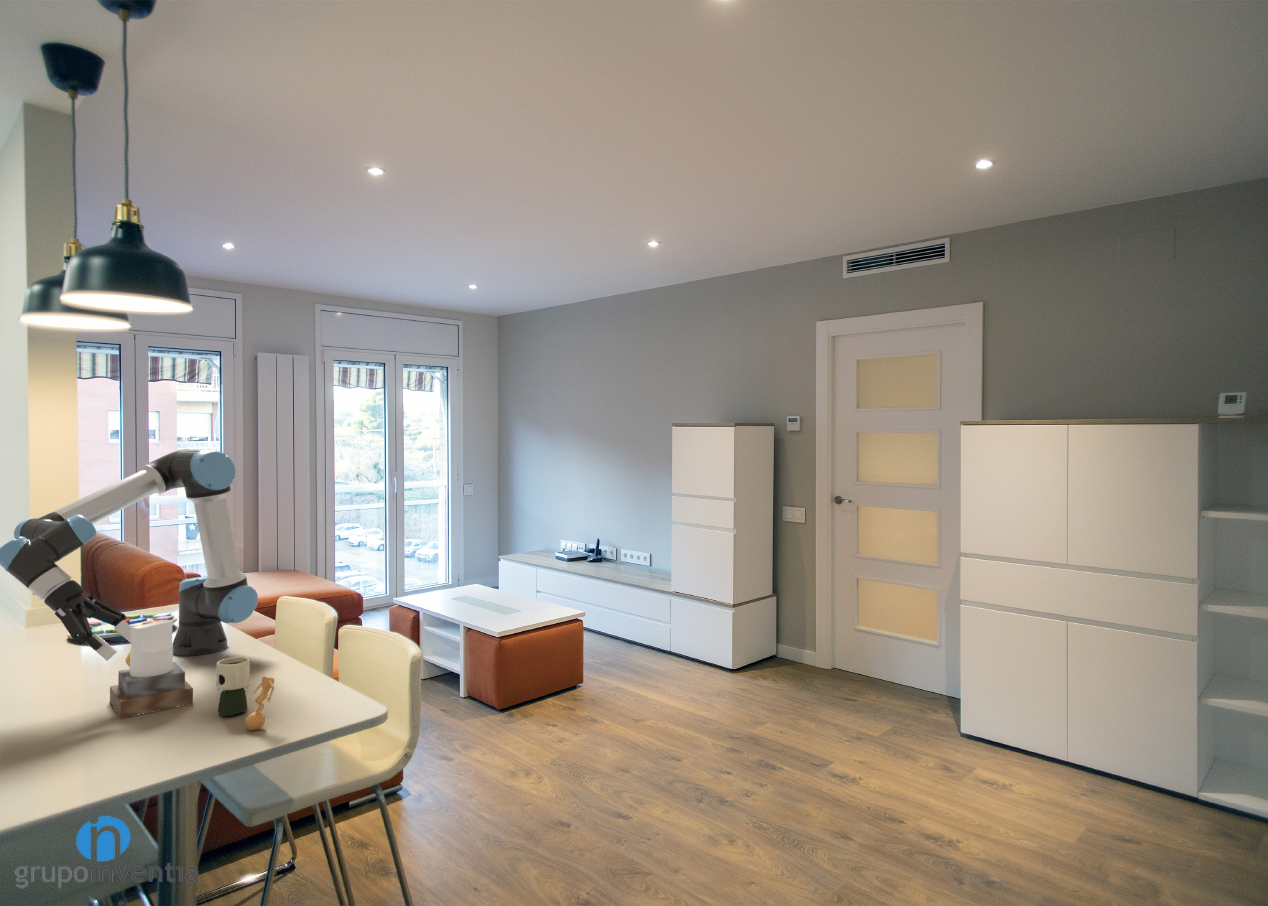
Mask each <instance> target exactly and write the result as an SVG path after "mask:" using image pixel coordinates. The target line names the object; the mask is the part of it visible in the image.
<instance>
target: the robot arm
mask: <svg viewBox="0 0 1268 906" xmlns="http://www.w3.org/2000/svg"><path fill="white" fill-rule="evenodd" d="M235 477H236V466H235V464H234V461H233V460H232V459H231V458H230V456H228V454H226V453H224V452H223V451H219V450H214V449H190V448H189V449H188V448H184V449H179V450H176V451H172V452H170V453H167V454H165V455H163V456H161V457H159V458H157V459H154V460H152V461H150V462H148V463H146V464H143V465H142V466H141V468H140V470H139V471H137V472H136V473H135V472H134V473H132V474H131V475H128V476H126V477H125V478H122V479H120V480H118V481H116V482H114V483H111V484H109V485H107V486H105V487H102V488H101V489H99V490H96V491H95V492H92V493H90V494H87V495H86V496H84V497H82V498H79V499H77V500H75V501H73V502H72V503H69V504H67V505H64V506H62V507H60V508H58V509H56V510H54V511H52V512H49V513H47V514H45V515H42V516H40V517H39V518H37V517H36V518H28V519H25V520H22V521H20V522H19V523H18V524H17V525H16V527H15V528H14V530H13V537H14V538H13V539H11V540H9V541H8V542H6V543H4V544H3V545H2V546H0V566H1V567H2V568H3V569H4V570H5V571H6V572H8V573H9V574H10V575H11V576H13V578H15V579H16V580H17V581H19V583H21V584H23V586H25V587H26V589H29V591H31V592H32V595H33V596H36V597H37V598H38V599H40V600H43V601H44V602H43V603H44V604H45V605H46V606H47V607H49V608H50V609H51V610H52V611H53V612H54V615H55V616H56V617H57V618H58V619H60V621H61V622H62V625H63V626H64V628H65V629H66V630H67V633H68V632H69V634H70V635H71V637H72V638H73V639H72V640H73V641H74V643H77V644H78V645H80V646H81V645H83V644H84V643H85V644H87V645H88V646H89V647H90V648H91V649H92V650H93V651H95V652H96V653H97V654H98V655H99V656H101V657H102V658H103V659H104V660H105V661H106V662H108V661H109V660H111V658H112V657H114V656H115V654H117V653H118V651H117V649H115V648H114V647H113V646H111V644H109V642H108V641H104V640H103V639H102V638H101V637H100V636H99V635H97V634H94V635H93V633H92V630H91V628H90V625H89V621H88V619H92V618H93V619H95V620H97V621H99V622H102V621H103V622H105V623H108V624H110V625H113V626H116V627H114V629H115V630H116V631H117V632H118V633H120V634H121V635H122V636H123V637H124V638H125V639H127V640H128V641H127V642H129V643H130V644H131V626H130V625H129V624H128V623H126V622H125V621H124V619H125V618H126V614H125V613H123V612H121V611H120V610H117V609H116V608H114V607H112V606H110V605H108V604H107V603H105V602H103V601H102V600H100V599H98V598H97V597H96V596H94V595H93V594H90V595H89V596H87V597H84V596H83V593H84V591H85V588H84V587H83V586H82V585H80V584H79V583H78V582H77V581H76V580H74V579H72V576H71V575H69V574H68V573H67V572H66V571H65V570H63V569H62V568H61V567H60V566H59V565H58V564H56V563H57V562H59V561H61V560H63V558H65V557H67V556H68V555H70V554H71V553H73V552H75V551H76V550H78V549H80V548H82V547H83V546H86V545H87V543H89V542H90V541H92V539H94V538H95V537H97V529H96V528H95V525H94V524H96V523H98V522H99V521H101V520H104V519H106V518H107V517H110V516H111V515H113V514H116V513H118V512H120V511H121V510H123V509H126V508H128V507H129V506H132V505H133V504H136V503H138V502H140V501H141V500H144V499H146V498H147V497H149V496H152V495H154V494H158V495H161V494H164V493H166V492H167V491H171V490H173V489H180V488H184V491H185V496H186V499H188V500H190V501H191V502H192V503H193V507H194V512H195V516H196V521H197V528H198V532H199V538H200V542H201V549H202V554H203V559H204V565H205V569H206V570H205V571H206V575H205V576H198V577H191V578H185V579H183V580H181V581H180V583H179V587H178V588H179V589H178V627H177V631H176V633H175V636H174V639H173V640H172V645H173V655H175V656H182V657H183V656H184V657H185V656H188V657H189V656H192V657H193V656H202V655H208V654H213V653H217V652H220V651H223V650H225V649H226V648H228V637H227V635H226V633H225V629H224V627H223V623H225V624H238V623H241V622H244V621H246V620H248V618H250V617H251V616H252V615H253V613H254V611H255V610H256V608H257V606H258V604H259V603H258V601H259V596H258V593H257V591H256V589H255V588H254V587H252V586H250V585H249V584H248V579H247V575H246V574H245V573H244V572H242V571H241V570H240V567H239V560H238V555H237V549H236V545H235V539H234V534H233V533H234V532H233V526H232V522H231V521H232V520H231V517H230V510H229V506H228V501H227V496H228V495H229V493H230V492H231V491H232V490H231V485H232V483H233V482H234V481H233V480H234V479H235ZM77 635H78V636H77ZM92 635H93V636H92Z"/></svg>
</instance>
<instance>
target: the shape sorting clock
mask: <svg viewBox="0 0 1268 906" xmlns="http://www.w3.org/2000/svg"><path fill="white" fill-rule="evenodd" d="M125 616H126V618H125V619H124V621H125V622H126V623H128V624H129V625H130V626H131V627H135V626H139V625H144V624H148V623H152V622H157V621H161V620H171V621H172V626H173V625H174V623H176V622H177V621H178V617H177V615H174V614H172V613H171V612H166V613H155V612H154V613H153V612H151V613H150V612H147V613H143V614H142V615H141V614H125ZM88 622H89V621H88ZM89 625H90V628H91V630H92V633H93V635H94V634H97V635H99V636H100V637H101V638H102V639H103V640H110V641H109V642H114V641H120V642H119V643H124V641H125V642H128V641H127V639H125V638H124V637H123V636H122V635H121V634H120V633H118V632H117V631H116V630H115V629H114V627H116V626H113V625H110V624H108V623H105V622H103V621H90V622H89ZM93 635H92V636H93ZM77 636H78V635H77ZM67 638H68V639H71V640H73V638H72V637H71V635H70V634H69V632H68V631H67Z"/></svg>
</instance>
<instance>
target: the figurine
mask: <svg viewBox="0 0 1268 906" xmlns="http://www.w3.org/2000/svg"><path fill="white" fill-rule="evenodd" d="M274 683H275V678H273V677H270V676H269V677H267V676H266V675H263V676H262V677H261V683H260V684H259V685H257V687H256V689H255V690H254V691H253V694H256V693H257V691H258V690H259V689H260V688H262V689H261V691H260V693H259V694H258V695H257V697H256V698H255V699H254V702H255V703H256V705H258V706H257V708H256V709H255V710H254V711H252V713H249V715H248V716H247V717H246V719H245V721H244V722H245V723H244V724H245V726H246V728H247V729H248V730H250V731H257V730H260V729H261V728H262V727H263V726H264V725H265V721H266V717H265V715H264V714H263V713H262V711H263V709H264V707H265V705H264V703H263V702H264V701H265V700H266V702H267V703H270V702H271V699H272V696H273V693H274V690H275V685H274ZM269 692H270V693H269ZM268 693H269V694H268ZM267 697H268V698H267Z"/></svg>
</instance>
